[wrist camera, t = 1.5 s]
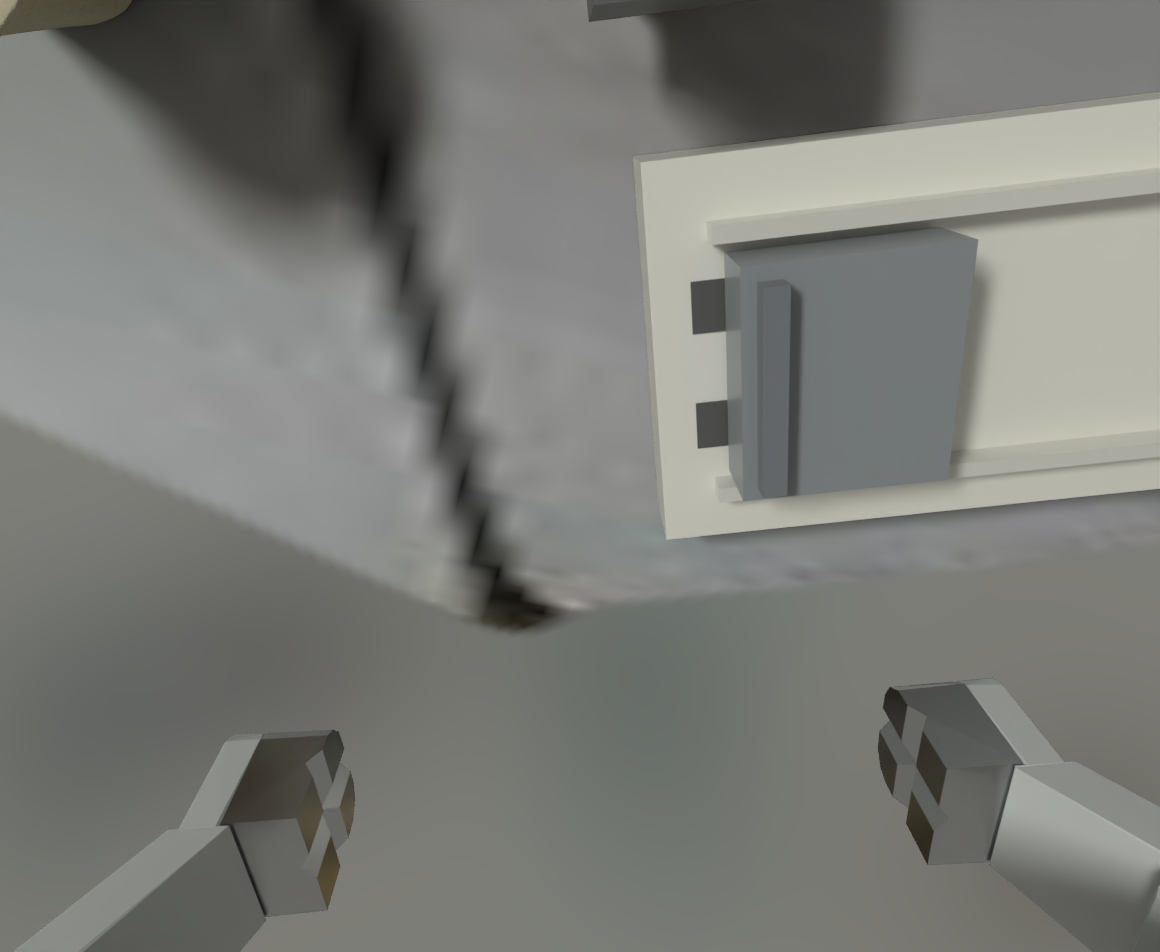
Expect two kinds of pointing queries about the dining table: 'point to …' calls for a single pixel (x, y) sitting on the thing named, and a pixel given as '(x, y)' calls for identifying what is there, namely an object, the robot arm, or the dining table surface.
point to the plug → (644, 7)
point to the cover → (845, 361)
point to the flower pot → (55, 14)
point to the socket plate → (997, 309)
